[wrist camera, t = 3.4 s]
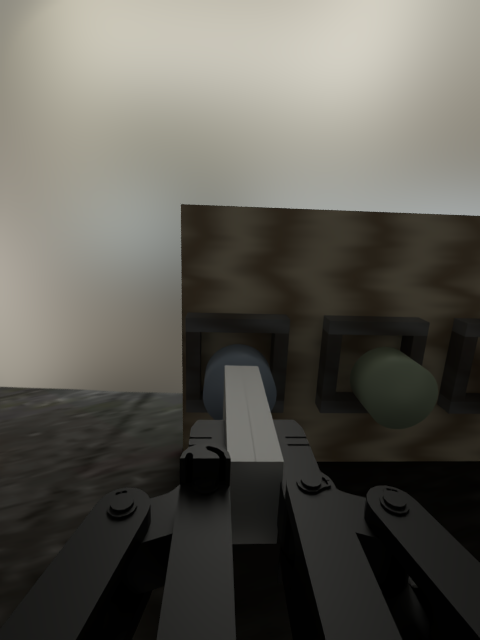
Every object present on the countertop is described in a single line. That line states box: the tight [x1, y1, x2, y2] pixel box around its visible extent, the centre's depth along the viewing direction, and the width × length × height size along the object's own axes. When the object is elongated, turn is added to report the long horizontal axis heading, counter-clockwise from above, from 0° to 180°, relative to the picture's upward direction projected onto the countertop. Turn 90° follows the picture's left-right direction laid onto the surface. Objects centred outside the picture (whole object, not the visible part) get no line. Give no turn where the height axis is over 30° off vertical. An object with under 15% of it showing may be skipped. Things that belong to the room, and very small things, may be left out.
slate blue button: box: [203, 344, 277, 420], centre depth 22 cm, size 4×3×4 cm
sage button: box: [350, 347, 438, 429], centre depth 23 cm, size 4×3×4 cm
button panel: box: [181, 204, 480, 462], centre depth 27 cm, size 28×4×20 cm, turn 93°
